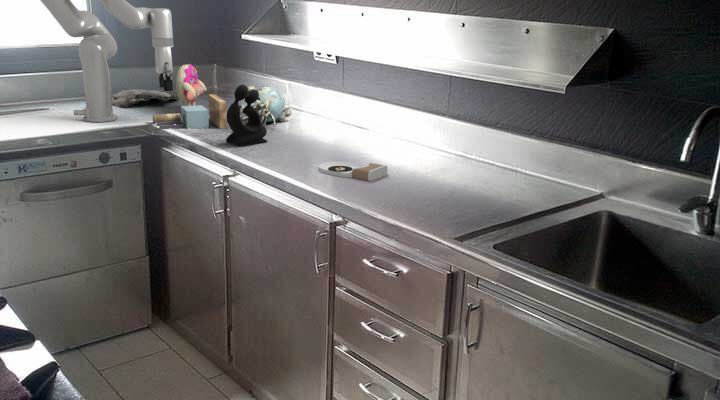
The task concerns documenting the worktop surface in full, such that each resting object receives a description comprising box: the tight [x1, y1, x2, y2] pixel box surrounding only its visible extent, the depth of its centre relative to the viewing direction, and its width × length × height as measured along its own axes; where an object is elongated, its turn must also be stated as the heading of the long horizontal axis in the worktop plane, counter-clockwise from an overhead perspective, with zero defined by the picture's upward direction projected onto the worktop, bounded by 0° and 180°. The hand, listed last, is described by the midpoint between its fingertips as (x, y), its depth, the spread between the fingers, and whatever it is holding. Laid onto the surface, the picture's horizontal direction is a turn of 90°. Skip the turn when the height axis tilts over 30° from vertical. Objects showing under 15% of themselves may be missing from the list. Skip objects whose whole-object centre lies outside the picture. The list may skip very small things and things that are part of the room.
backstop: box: [208, 93, 228, 130], centre depth 265 cm, size 2×18×10 cm, turn 24°
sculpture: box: [238, 84, 293, 128], centre depth 267 cm, size 20×18×30 cm
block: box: [180, 104, 210, 129], centre depth 262 cm, size 8×11×6 cm
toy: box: [175, 63, 207, 114], centre depth 283 cm, size 25×9×20 cm, turn 179°
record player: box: [318, 161, 388, 182], centre depth 205 cm, size 12×3×20 cm
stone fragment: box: [112, 88, 180, 109], centre depth 304 cm, size 26×29×6 cm
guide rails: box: [156, 120, 186, 130], centre depth 259 cm, size 9×7×1 cm
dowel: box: [152, 112, 182, 124], centre depth 265 cm, size 10×4×4 cm, turn 114°
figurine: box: [225, 84, 268, 147], centre depth 235 cm, size 14×9×20 cm, turn 134°
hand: (166, 89), depth 262 cm, fingers open, 9 cm apart
